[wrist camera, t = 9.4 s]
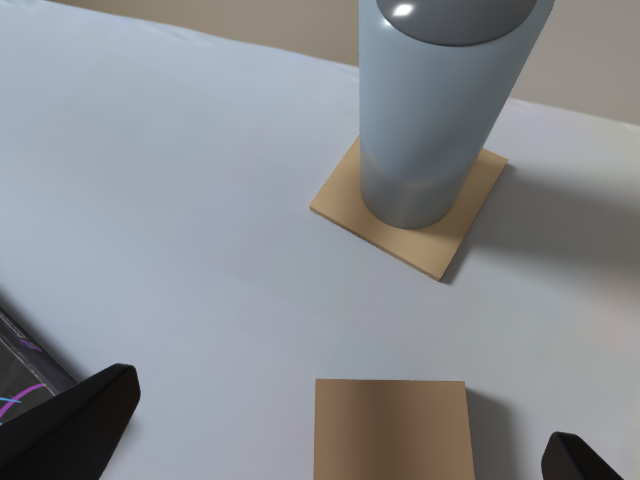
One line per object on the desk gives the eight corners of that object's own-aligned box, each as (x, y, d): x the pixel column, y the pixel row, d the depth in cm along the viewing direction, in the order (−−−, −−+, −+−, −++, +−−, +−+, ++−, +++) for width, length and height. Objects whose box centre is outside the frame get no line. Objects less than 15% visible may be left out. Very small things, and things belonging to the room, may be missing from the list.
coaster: (505, 164, 25) (508, 159, 25) (438, 281, 23) (440, 279, 22) (381, 108, 28) (381, 103, 27) (310, 209, 25) (308, 205, 25)
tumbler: (478, 185, 24) (600, -26, 12) (409, 249, 23) (465, 90, 11) (406, 127, 26) (447, -104, 14) (340, 184, 25) (320, -12, 13)
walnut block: (450, 382, 21) (464, 381, 18) (460, 490, 19) (477, 507, 17) (321, 380, 22) (315, 379, 19) (319, 484, 20) (313, 499, 17)
